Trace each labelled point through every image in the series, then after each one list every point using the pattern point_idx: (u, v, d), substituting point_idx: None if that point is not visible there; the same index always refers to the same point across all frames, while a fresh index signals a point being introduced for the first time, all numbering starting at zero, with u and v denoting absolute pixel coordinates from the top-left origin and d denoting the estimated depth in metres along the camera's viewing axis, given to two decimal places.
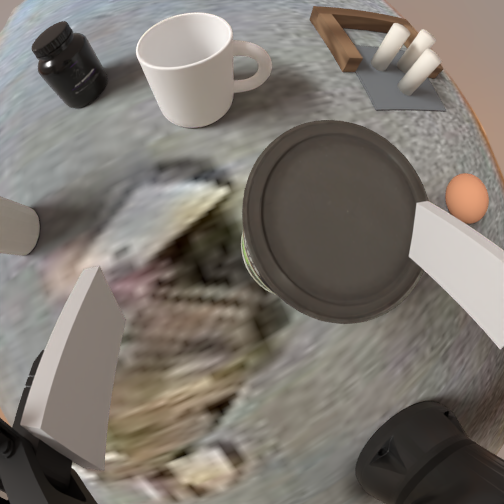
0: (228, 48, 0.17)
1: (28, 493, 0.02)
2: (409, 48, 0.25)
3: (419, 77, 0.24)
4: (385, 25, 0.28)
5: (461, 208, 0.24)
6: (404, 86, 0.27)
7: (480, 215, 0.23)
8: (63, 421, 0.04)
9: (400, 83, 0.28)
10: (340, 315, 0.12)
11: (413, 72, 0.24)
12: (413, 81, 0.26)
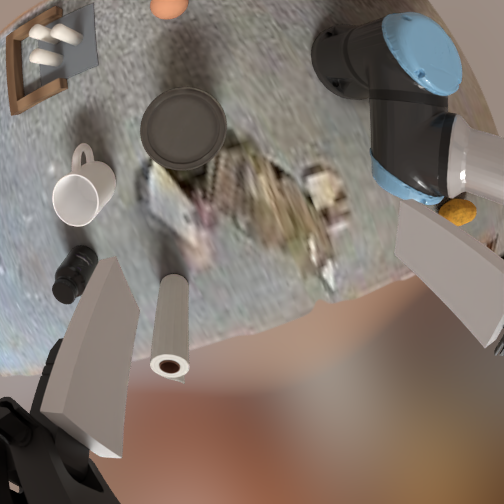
0: (82, 174, 0.33)
1: (45, 483, 0.02)
2: (44, 40, 0.23)
3: (72, 35, 0.25)
4: (16, 54, 0.24)
5: (176, 13, 0.28)
6: (76, 42, 0.28)
7: None
8: (84, 406, 0.05)
9: (74, 44, 0.28)
10: (222, 136, 0.30)
11: (68, 40, 0.25)
12: (75, 38, 0.26)
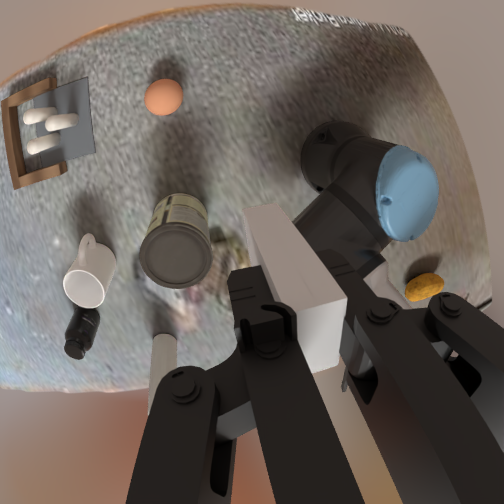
0: (89, 270, 0.40)
1: (299, 403, 0.04)
2: (39, 121, 0.31)
3: (67, 123, 0.32)
4: (13, 124, 0.31)
5: (170, 112, 0.36)
6: (73, 125, 0.35)
7: (177, 96, 0.34)
8: None
9: (70, 126, 0.35)
10: (208, 265, 0.39)
11: (64, 127, 0.32)
12: (70, 124, 0.34)
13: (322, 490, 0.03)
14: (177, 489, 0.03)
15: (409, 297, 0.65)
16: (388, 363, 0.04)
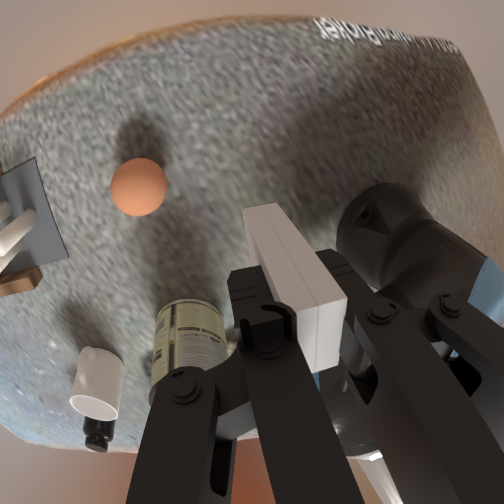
0: (95, 395, 0.31)
1: (298, 403, 0.04)
2: None
3: (22, 234, 0.24)
4: None
5: (152, 211, 0.27)
6: (32, 227, 0.26)
7: (158, 190, 0.25)
8: None
9: None
10: None
11: (19, 239, 0.24)
12: (27, 231, 0.25)
13: (322, 490, 0.03)
14: (177, 489, 0.03)
15: None
16: (388, 363, 0.04)
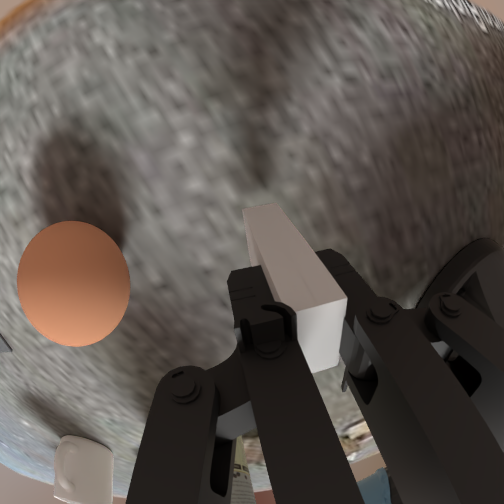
0: (81, 500, 0.16)
1: (298, 403, 0.04)
2: None
3: None
4: None
5: None
6: None
7: (105, 308, 0.10)
8: None
9: None
10: None
11: None
12: None
13: (322, 490, 0.03)
14: (177, 489, 0.03)
15: None
16: (388, 363, 0.04)
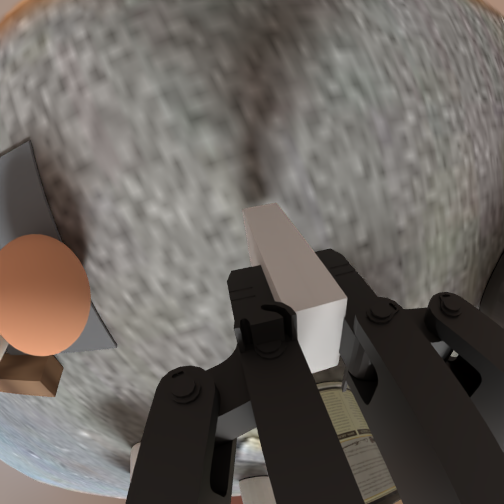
0: None
1: (298, 403, 0.04)
2: None
3: None
4: None
5: None
6: None
7: None
8: None
9: None
10: None
11: None
12: None
13: (322, 490, 0.03)
14: (177, 489, 0.03)
15: None
16: (389, 363, 0.04)
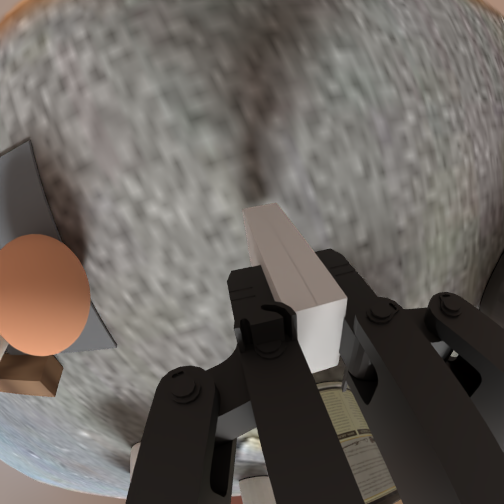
0: None
1: (298, 403, 0.04)
2: None
3: None
4: None
5: None
6: None
7: None
8: None
9: None
10: None
11: None
12: None
13: (322, 490, 0.03)
14: (177, 489, 0.03)
15: None
16: (389, 363, 0.04)
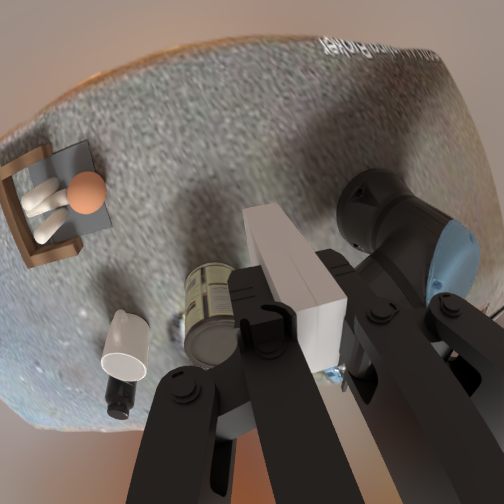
0: (127, 352, 0.39)
1: (298, 403, 0.04)
2: None
3: (43, 209, 0.33)
4: (11, 198, 0.31)
5: None
6: None
7: None
8: None
9: None
10: None
11: None
12: (50, 208, 0.33)
13: (322, 490, 0.03)
14: (177, 489, 0.03)
15: None
16: (389, 363, 0.04)
